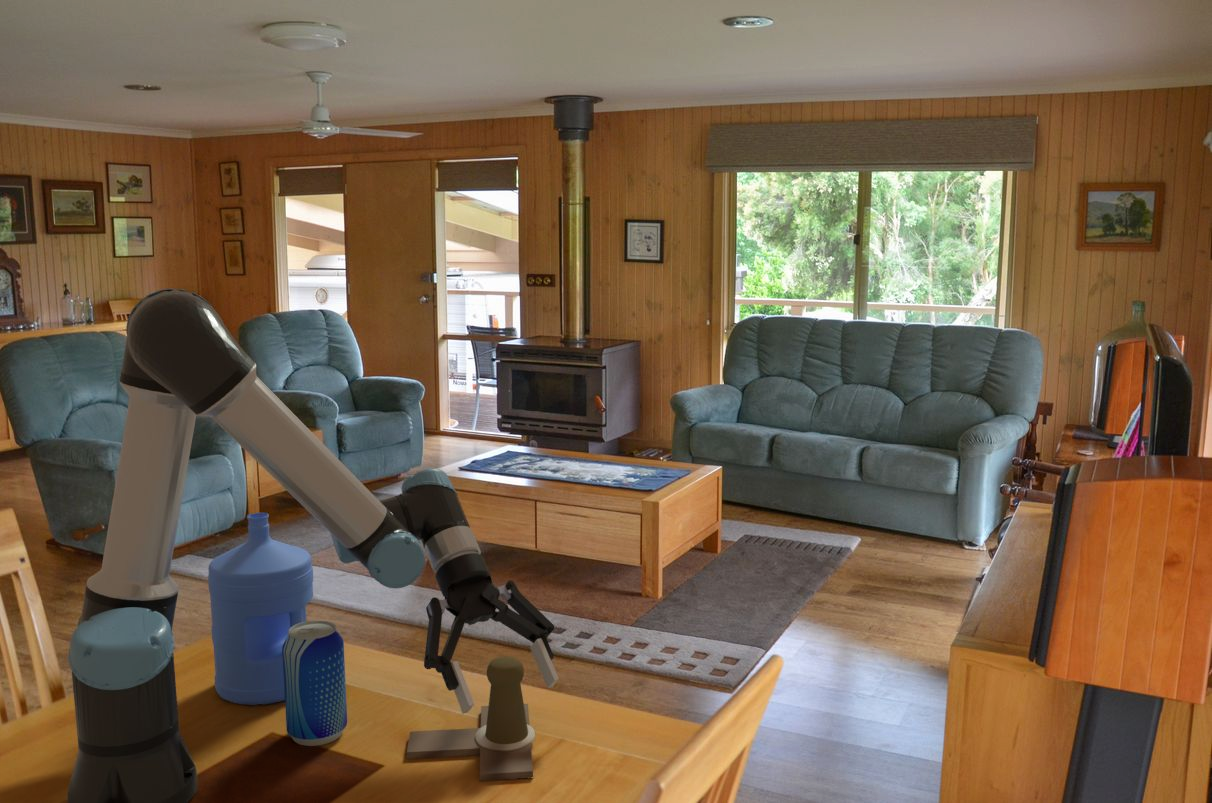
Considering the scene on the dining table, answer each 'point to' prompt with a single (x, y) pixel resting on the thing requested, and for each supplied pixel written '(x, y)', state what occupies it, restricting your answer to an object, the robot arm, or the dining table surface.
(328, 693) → the beer can
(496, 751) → the walnut T board
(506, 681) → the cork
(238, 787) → the dining table surface
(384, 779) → the dining table surface
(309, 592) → the water jug
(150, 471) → the robot arm
